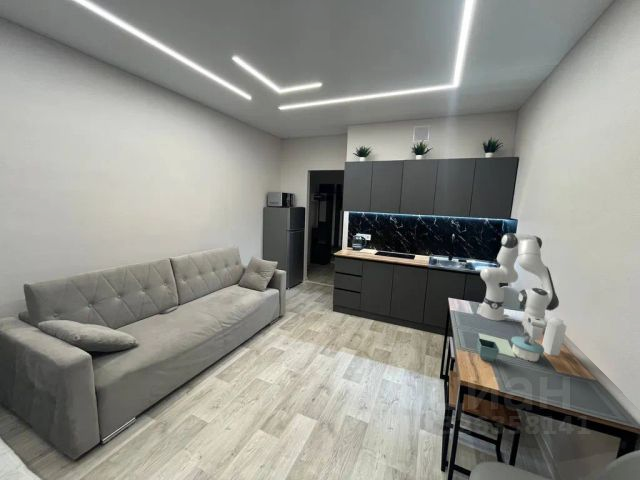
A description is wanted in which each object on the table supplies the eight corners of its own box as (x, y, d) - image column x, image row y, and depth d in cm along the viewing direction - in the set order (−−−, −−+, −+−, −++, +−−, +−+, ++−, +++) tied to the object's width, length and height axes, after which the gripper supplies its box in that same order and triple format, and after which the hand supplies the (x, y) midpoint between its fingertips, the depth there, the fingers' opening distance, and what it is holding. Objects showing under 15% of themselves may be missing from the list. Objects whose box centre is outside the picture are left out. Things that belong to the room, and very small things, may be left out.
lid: (508, 335, 159) (510, 327, 158) (538, 343, 153) (540, 335, 152) (514, 347, 145) (516, 339, 145) (548, 356, 139) (550, 347, 138)
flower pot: (496, 365, 138) (500, 350, 137) (478, 360, 141) (481, 345, 140) (492, 356, 146) (495, 341, 145) (474, 351, 149) (477, 337, 148)
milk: (549, 349, 158) (558, 316, 154) (559, 355, 152) (568, 321, 148) (540, 349, 157) (548, 315, 154) (549, 355, 151) (558, 320, 148)
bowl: (510, 346, 158) (512, 337, 157) (534, 352, 153) (536, 343, 152) (515, 357, 147) (517, 347, 146) (541, 364, 142) (543, 354, 141)
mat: (478, 333, 171) (478, 333, 171) (507, 341, 164) (507, 340, 164) (482, 349, 153) (483, 348, 153) (515, 357, 146) (515, 357, 146)
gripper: (521, 308, 157) (517, 329, 159) (532, 322, 138) (526, 346, 141) (534, 311, 154) (529, 332, 156) (547, 326, 136) (541, 349, 138)
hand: (528, 339), depth 148 cm, fingers open, 8 cm apart
